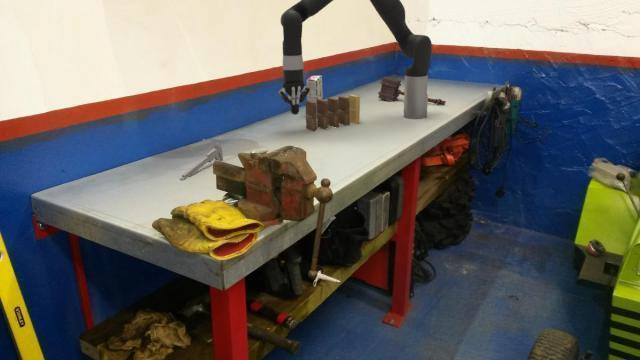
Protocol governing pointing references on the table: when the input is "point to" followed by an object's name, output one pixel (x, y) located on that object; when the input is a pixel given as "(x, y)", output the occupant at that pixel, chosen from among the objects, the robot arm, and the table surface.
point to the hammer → (397, 91)
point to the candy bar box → (314, 88)
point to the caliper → (205, 161)
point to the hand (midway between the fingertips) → (294, 114)
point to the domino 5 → (354, 109)
